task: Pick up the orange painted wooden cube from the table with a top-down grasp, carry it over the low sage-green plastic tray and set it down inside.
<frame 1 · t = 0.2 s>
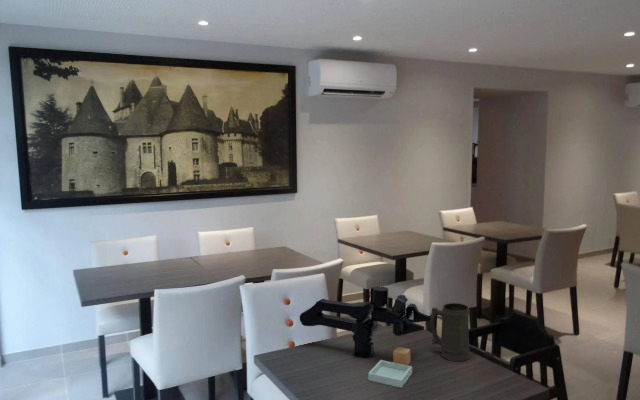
hand: (427, 323, 174), 16 cm above the table, tool horizontal, fingers open, 9 cm apart
orange cube: (401, 363, 179), on the table
sage tray: (390, 376, 168), on the table
beer stein: (448, 355, 186), on the table
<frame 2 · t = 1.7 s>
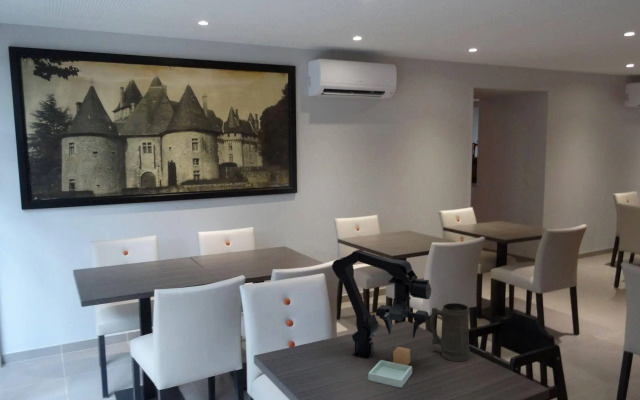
hand: (401, 336, 178), 10 cm above the table, tool pointing down, fingers open, 9 cm apart
nothing on the table moved.
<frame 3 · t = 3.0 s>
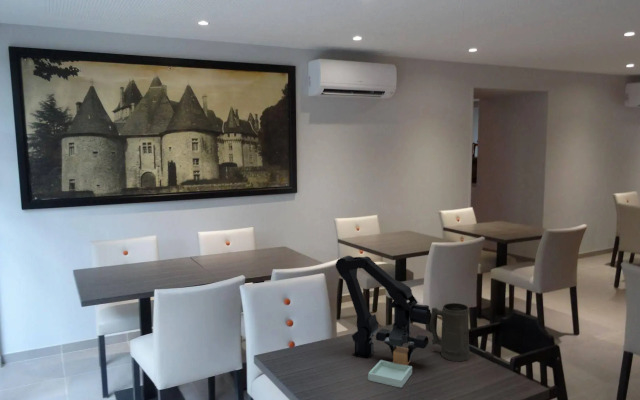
hand: (401, 360, 179), 1 cm above the table, tool pointing down, fingers closed on orange cube, 5 cm apart
orange cube: (401, 362, 179), on the table, touching gripper
everything else where it was.
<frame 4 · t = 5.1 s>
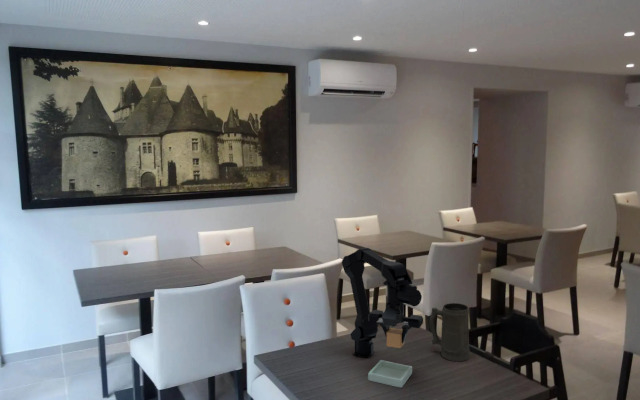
hand: (395, 341, 171), 11 cm above the table, tool pointing down, fingers closed on orange cube, 5 cm apart
orange cube: (395, 344, 171), point 10 cm above the table, touching gripper
everything else where it was.
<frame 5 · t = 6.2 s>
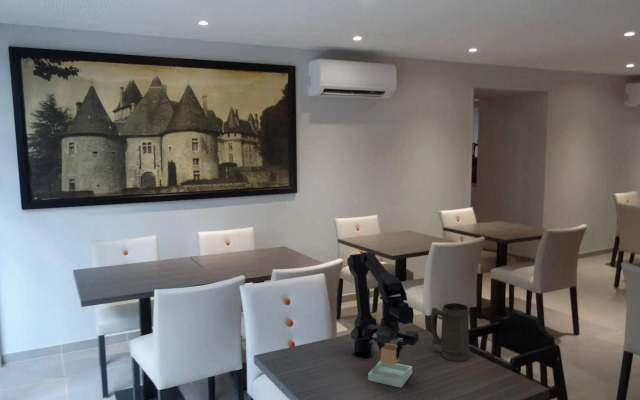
hand: (390, 357, 168), 7 cm above the table, tool pointing down, fingers closed on orange cube, 5 cm apart
orange cube: (390, 360, 168), point 6 cm above the table, touching gripper
everything else where it was.
when the fingers open (3 cm above the table, at t = 7.2 s): orange cube drops 2 cm, resting on sage tray.
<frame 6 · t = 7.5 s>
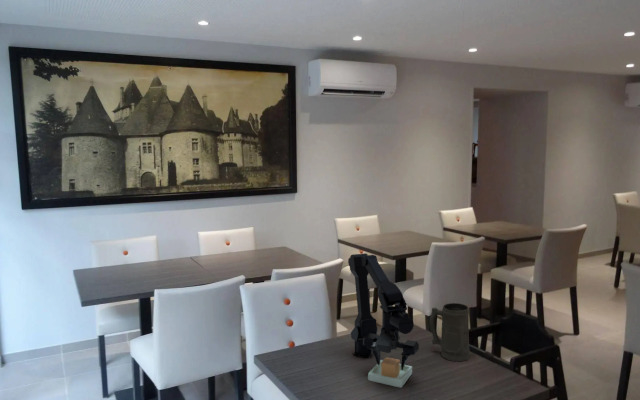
hand: (390, 367, 168), 3 cm above the table, tool pointing down, fingers open, 8 cm apart
orange cube: (390, 374, 168), point 1 cm above the table, touching sage tray
everything else where it was.
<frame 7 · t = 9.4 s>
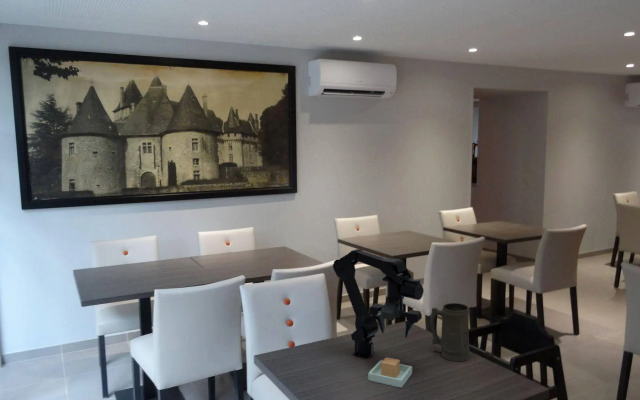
hand: (394, 335, 176), 11 cm above the table, tool pointing down, fingers open, 9 cm apart
nothing on the table moved.
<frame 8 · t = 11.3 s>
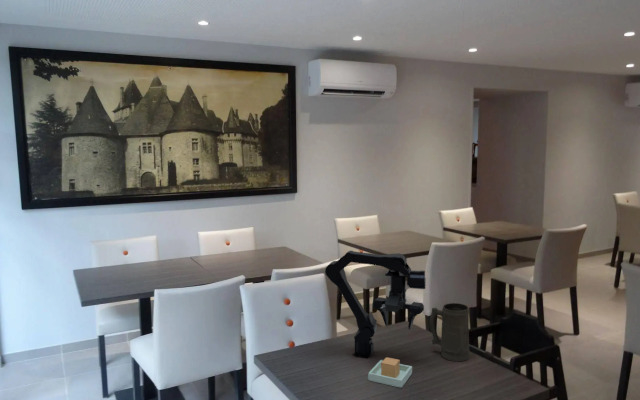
hand: (397, 327, 183), 12 cm above the table, tool pointing down, fingers open, 9 cm apart
nothing on the table moved.
at the end: orange cube inside the target area on the sage tray (0.0 cm from its centre), point 0.6 cm above the sage tray's base; orange cube tilted 0°; the gripper is holding nothing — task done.
